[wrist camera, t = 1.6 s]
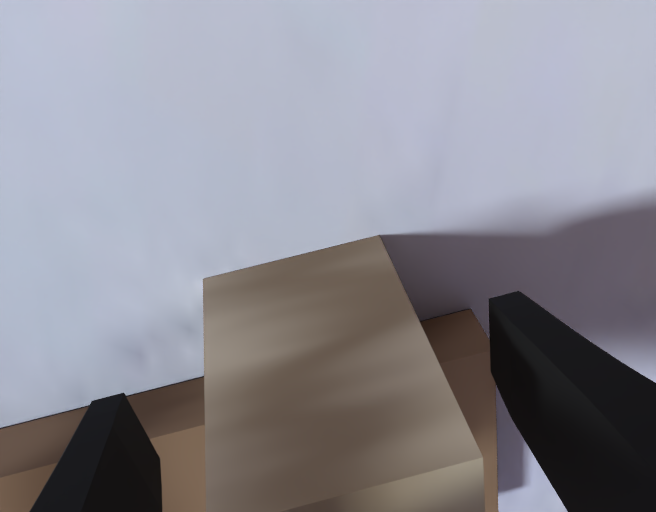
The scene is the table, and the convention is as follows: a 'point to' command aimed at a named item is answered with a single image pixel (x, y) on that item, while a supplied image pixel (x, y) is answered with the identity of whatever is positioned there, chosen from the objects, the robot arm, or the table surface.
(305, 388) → the marking gauge
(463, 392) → the walnut board
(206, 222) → the table surface
